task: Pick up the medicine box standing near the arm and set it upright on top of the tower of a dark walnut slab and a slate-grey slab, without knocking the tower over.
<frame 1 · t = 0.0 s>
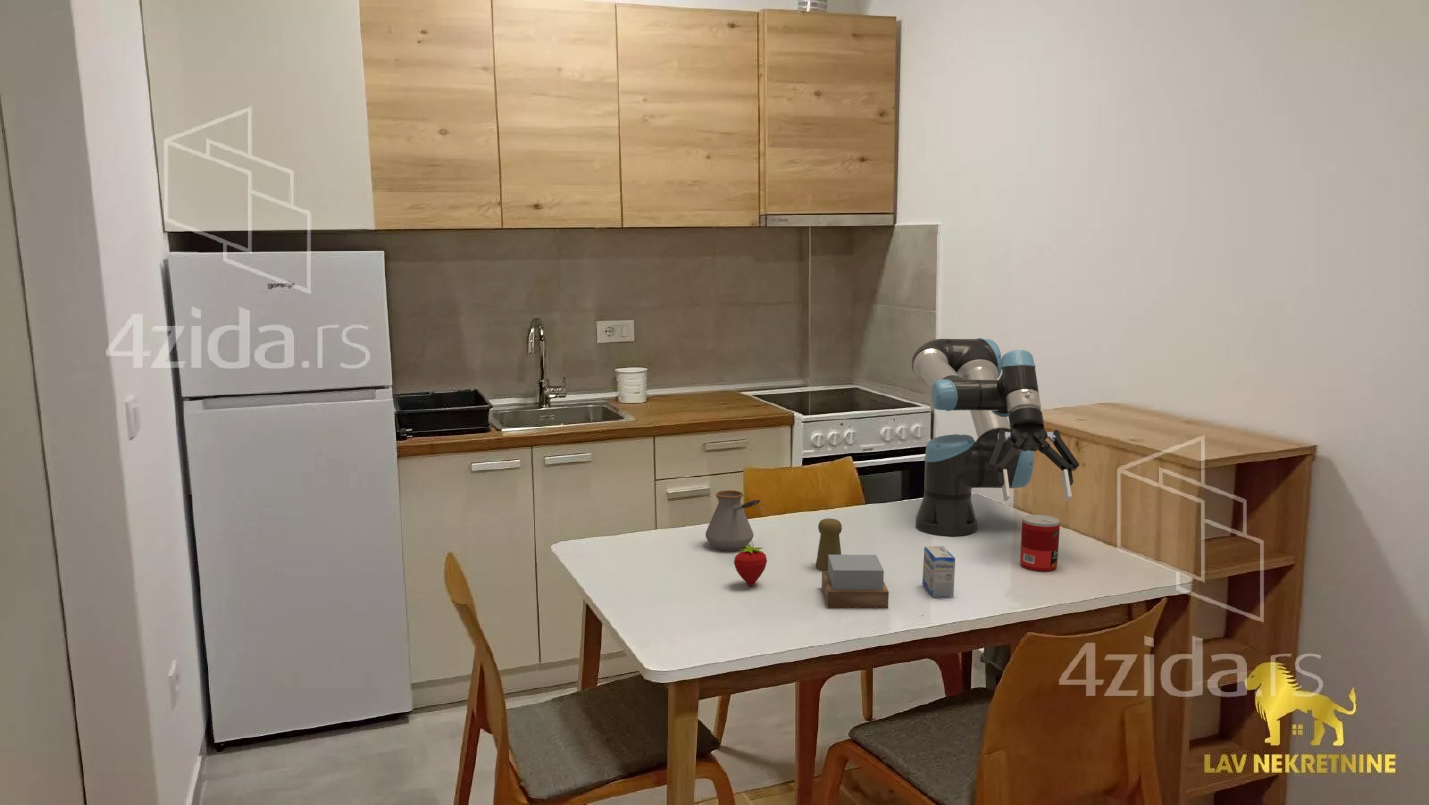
hand: (1037, 498, 227), 15 cm above the table, tool tilted 35°, fingers open, 13 cm apart
medicine box: (937, 592, 213), on the table
canned food: (1038, 567, 229), on the table
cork: (829, 568, 228), on the table
walnut slab: (853, 600, 209), on the table, touching slate slab
strawberry: (750, 586, 216), on the table
slate slab: (854, 581, 208), point 3 cm above the table, touching walnut slab
coffee pot: (738, 552, 238), on the table
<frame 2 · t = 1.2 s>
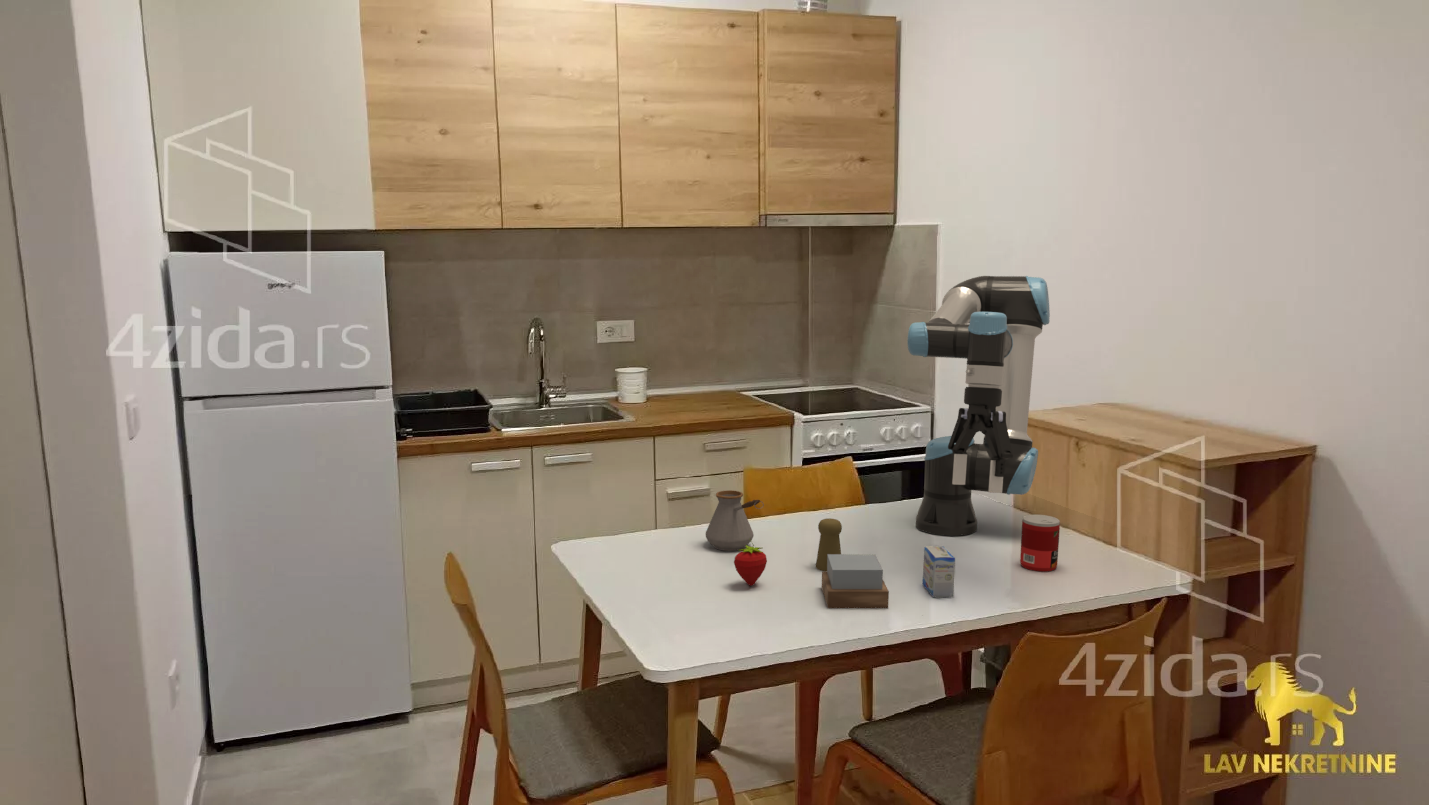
hand: (976, 488, 212), 21 cm above the table, tool pointing down, fingers open, 13 cm apart
walnut slab: (853, 600, 209), on the table
slate slab: (854, 580, 209), point 3 cm above the table
everything else where it was.
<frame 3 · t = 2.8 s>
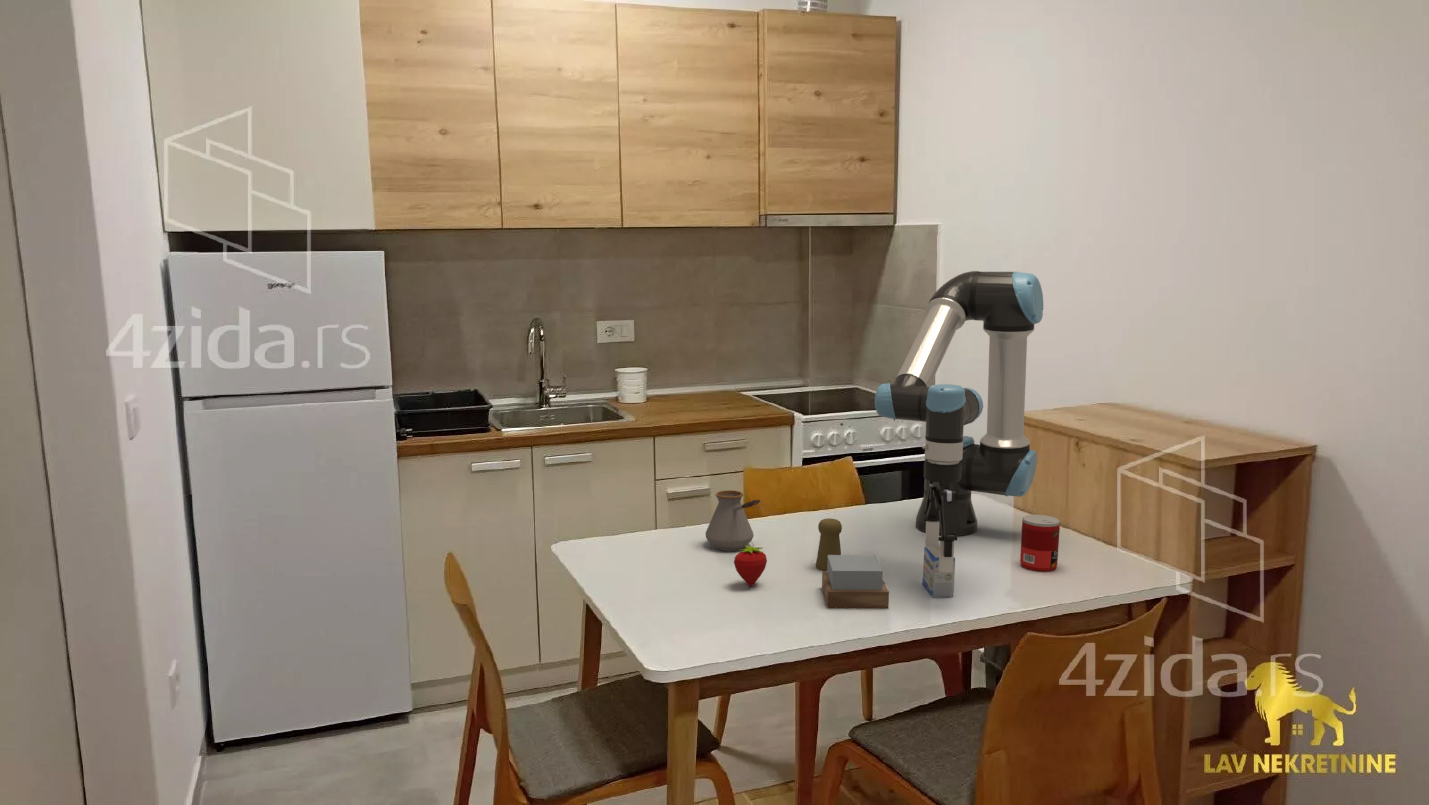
hand: (938, 561, 211), 7 cm above the table, tool pointing down, fingers open, 13 cm apart
walnut slab: (854, 600, 209), on the table, touching slate slab
slate slab: (854, 581, 208), point 3 cm above the table, touching walnut slab
everything else where it was.
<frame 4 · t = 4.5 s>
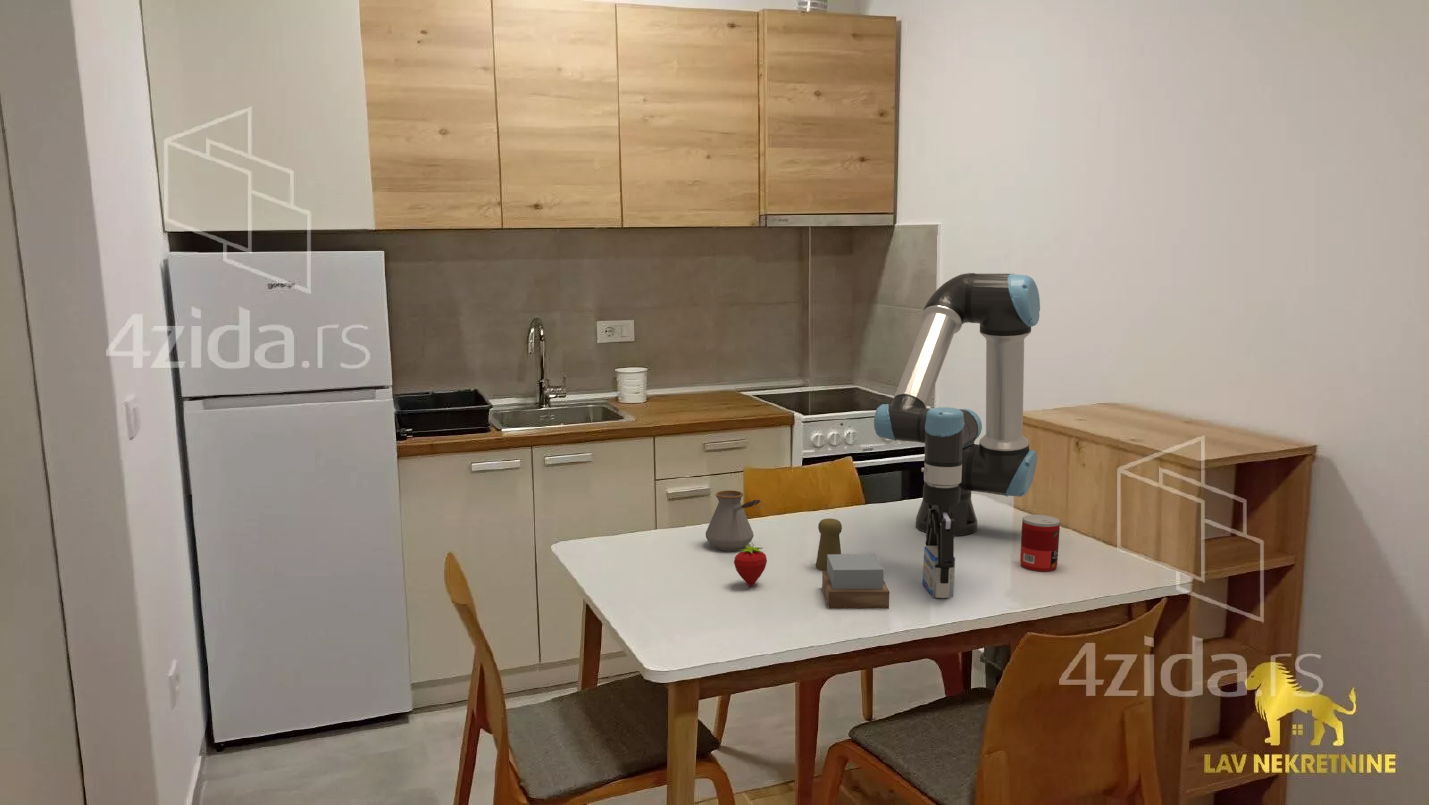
hand: (937, 589, 213), 0 cm above the table, tool pointing down, fingers closed on medicine box, 8 cm apart
medicine box: (937, 591, 213), on the table, touching gripper
everything else where it was.
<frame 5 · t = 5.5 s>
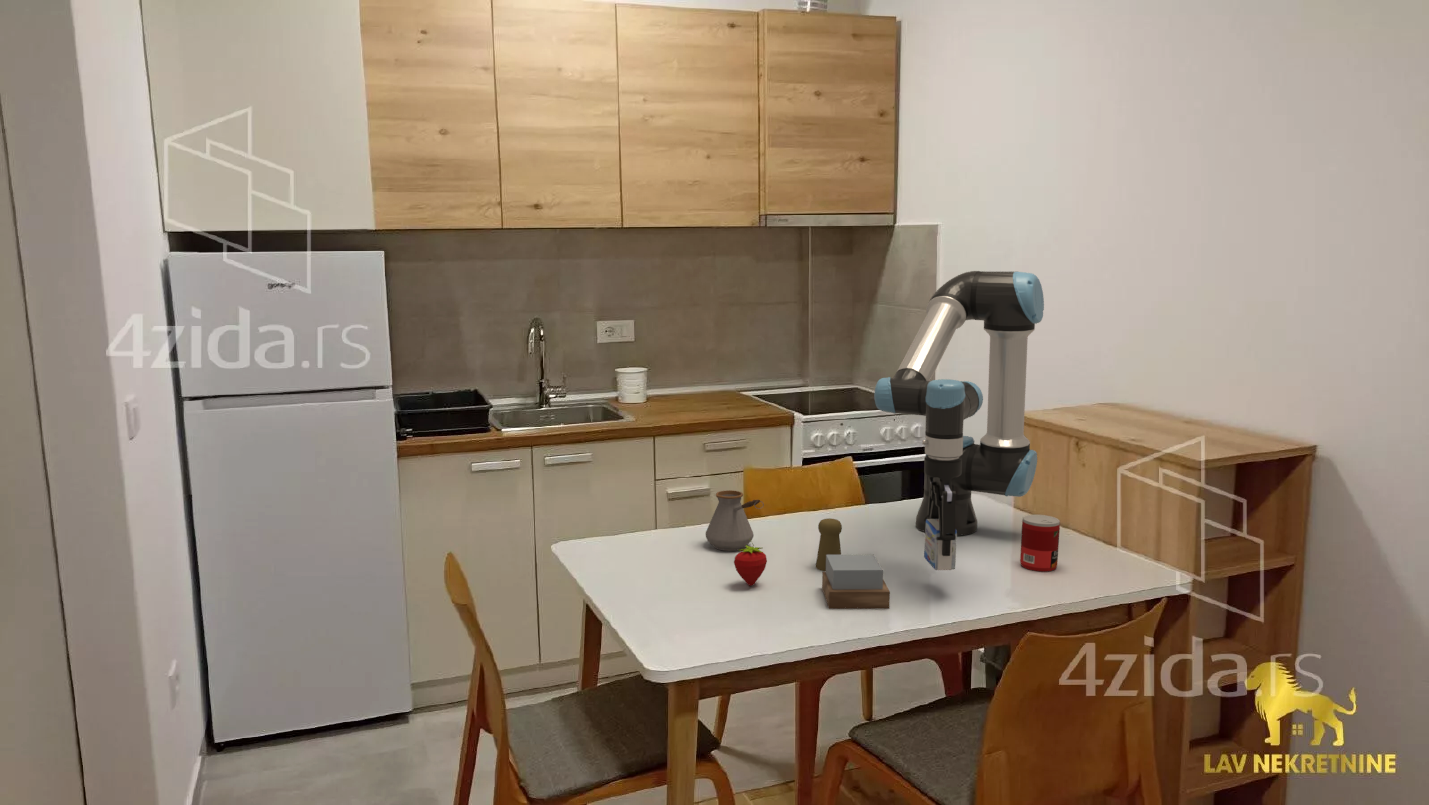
hand: (939, 562, 212), 6 cm above the table, tool pointing down, fingers closed on medicine box, 8 cm apart
medicine box: (939, 564, 212), point 6 cm above the table, touching gripper
everything else where it was.
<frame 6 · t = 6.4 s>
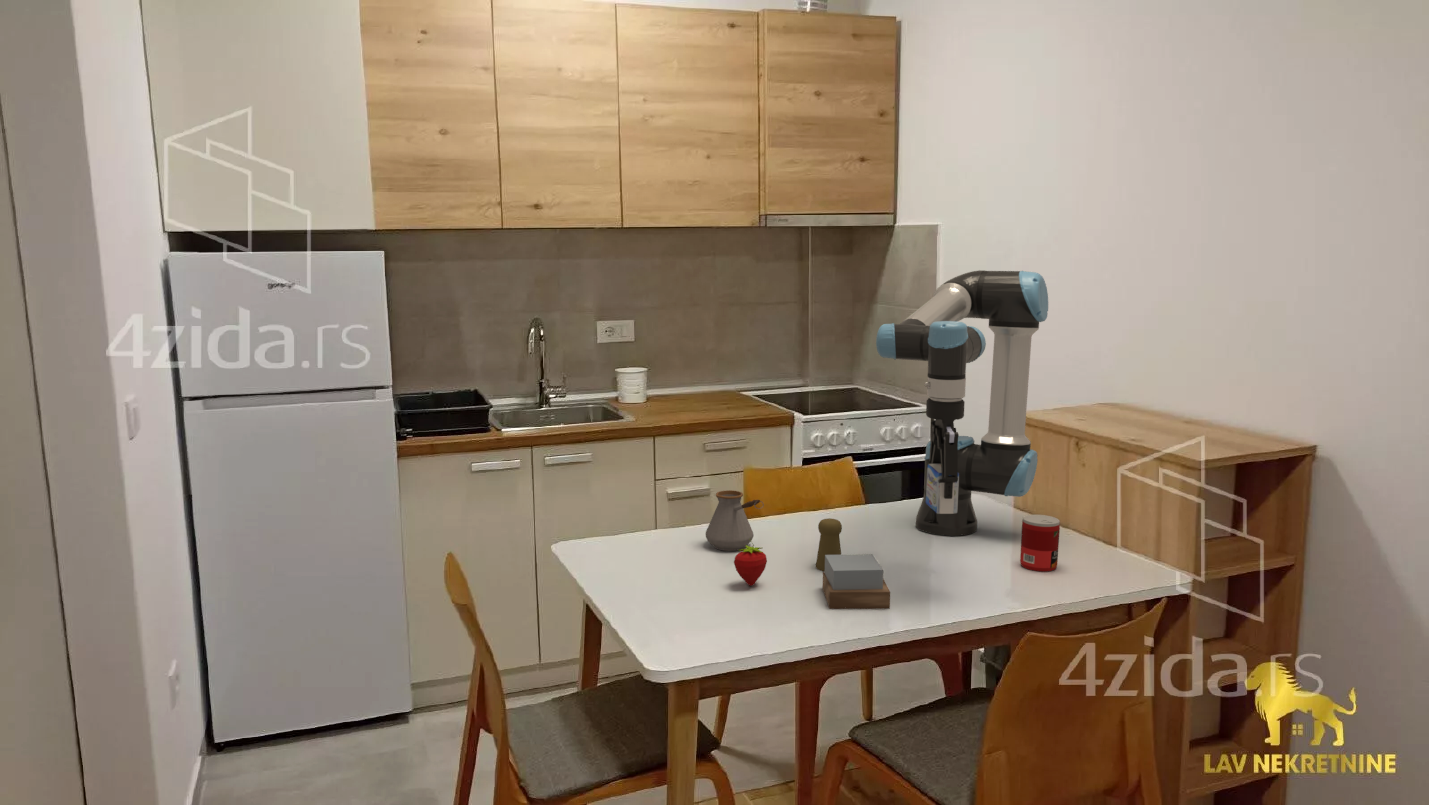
hand: (941, 507, 210), 18 cm above the table, tool pointing down, fingers closed on medicine box, 8 cm apart
medicine box: (941, 509, 210), point 17 cm above the table, touching gripper
everything else where it was.
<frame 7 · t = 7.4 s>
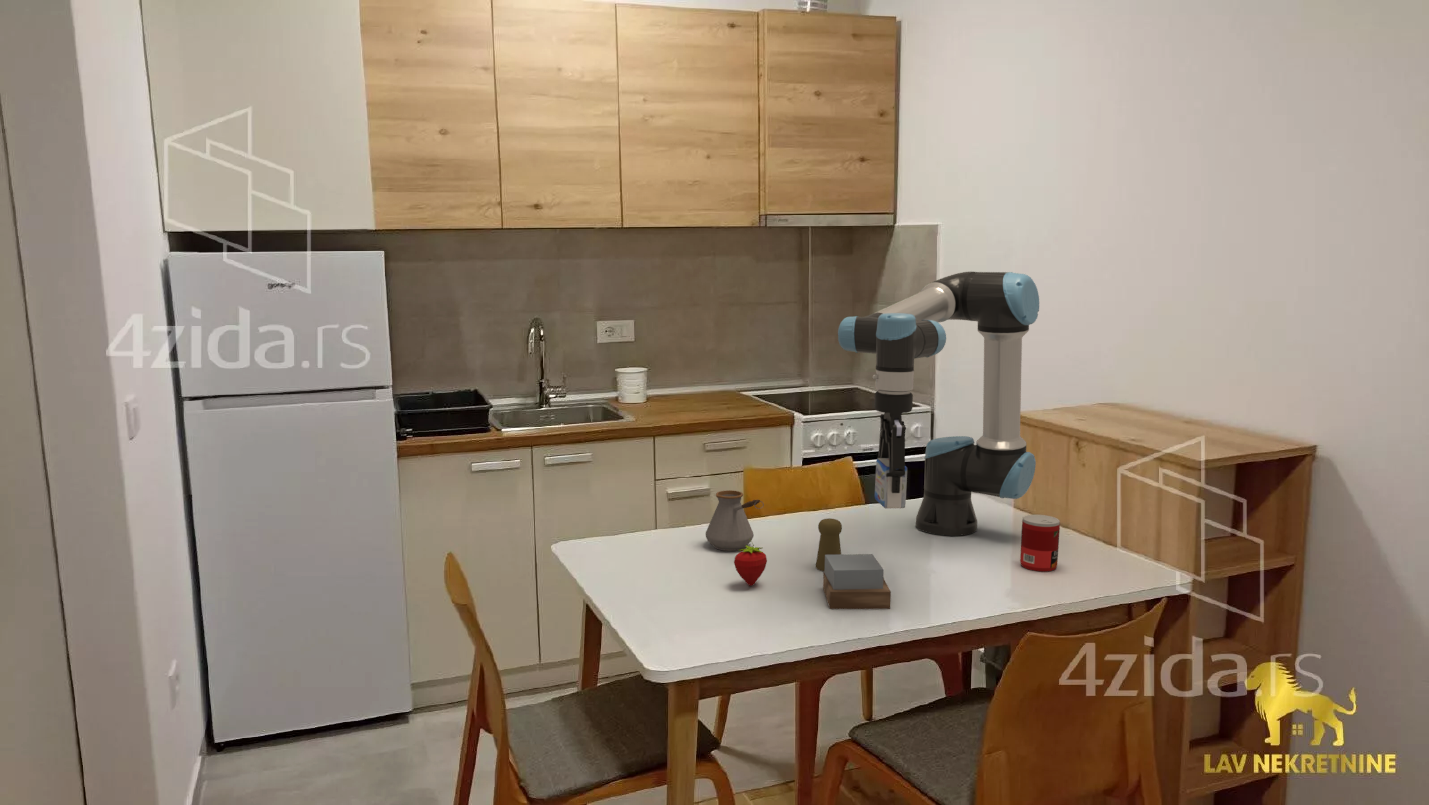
hand: (889, 502, 207), 20 cm above the table, tool pointing down, fingers closed on medicine box, 8 cm apart
medicine box: (889, 504, 207), point 19 cm above the table, touching gripper
everything else where it was.
when the fingers open (10 cm above the table, at t = 9.9 s): medicine box drops 2 cm, resting on slate slab.
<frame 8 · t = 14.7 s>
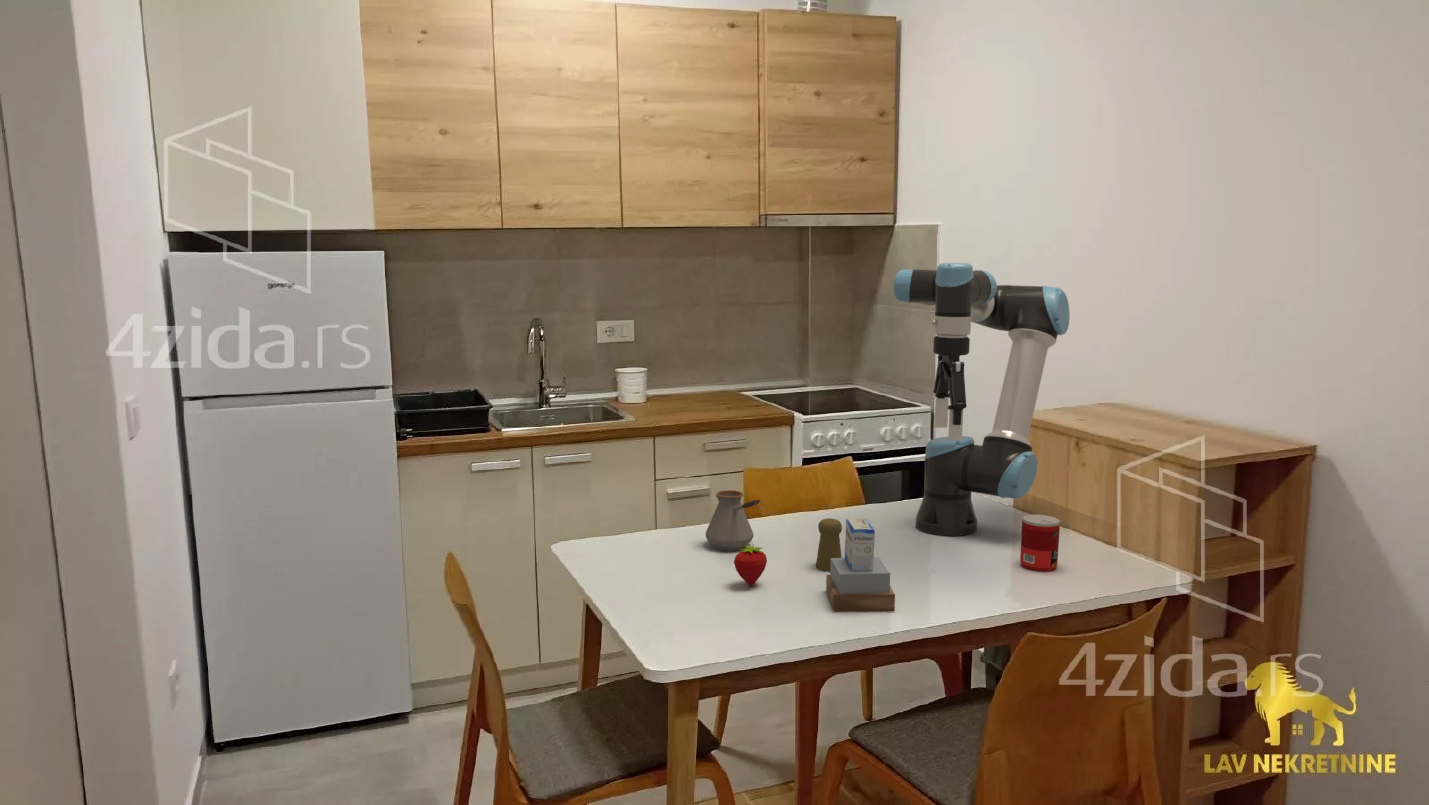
hand: (947, 433, 221), 31 cm above the table, tool pointing down, fingers open, 13 cm apart
medicine box: (858, 565, 206), point 7 cm above the table, touching slate slab
walnut slab: (859, 603, 207), on the table, touching slate slab
slate slab: (859, 584, 206), point 3 cm above the table, touching medicine box, walnut slab
everything else where it was.
at the end: medicine box inside the target area on the slate slab (0.4 cm from its centre), point 3.8 cm above the slate slab's base; medicine box tilted 0°; slate slab 0.1 cm off-centre on the walnut slab, point 4.0 cm above the walnut slab's base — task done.
